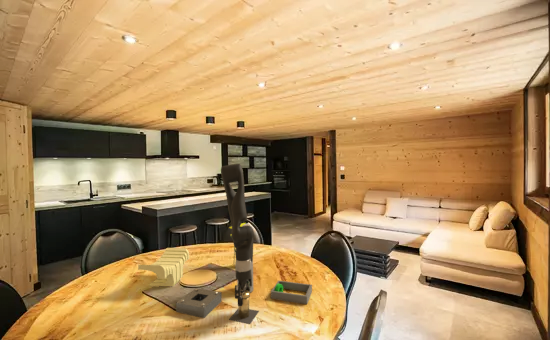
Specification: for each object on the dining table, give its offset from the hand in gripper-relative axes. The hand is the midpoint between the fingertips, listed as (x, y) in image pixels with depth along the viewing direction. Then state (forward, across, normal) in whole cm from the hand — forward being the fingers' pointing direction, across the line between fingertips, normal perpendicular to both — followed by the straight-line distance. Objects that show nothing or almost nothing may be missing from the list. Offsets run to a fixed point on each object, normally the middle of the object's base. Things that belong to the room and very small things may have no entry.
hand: (244, 301), depth 126 cm
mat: (+7, 0, 0) cm, 7 cm away
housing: (+7, 0, -25) cm, 26 cm away
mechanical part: (+10, -22, +7) cm, 25 cm away
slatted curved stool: (+8, -17, -61) cm, 64 cm away
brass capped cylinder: (+7, 0, 0) cm, 7 cm away
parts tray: (+7, -26, +17) cm, 32 cm away
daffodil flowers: (+8, -54, -29) cm, 62 cm away
